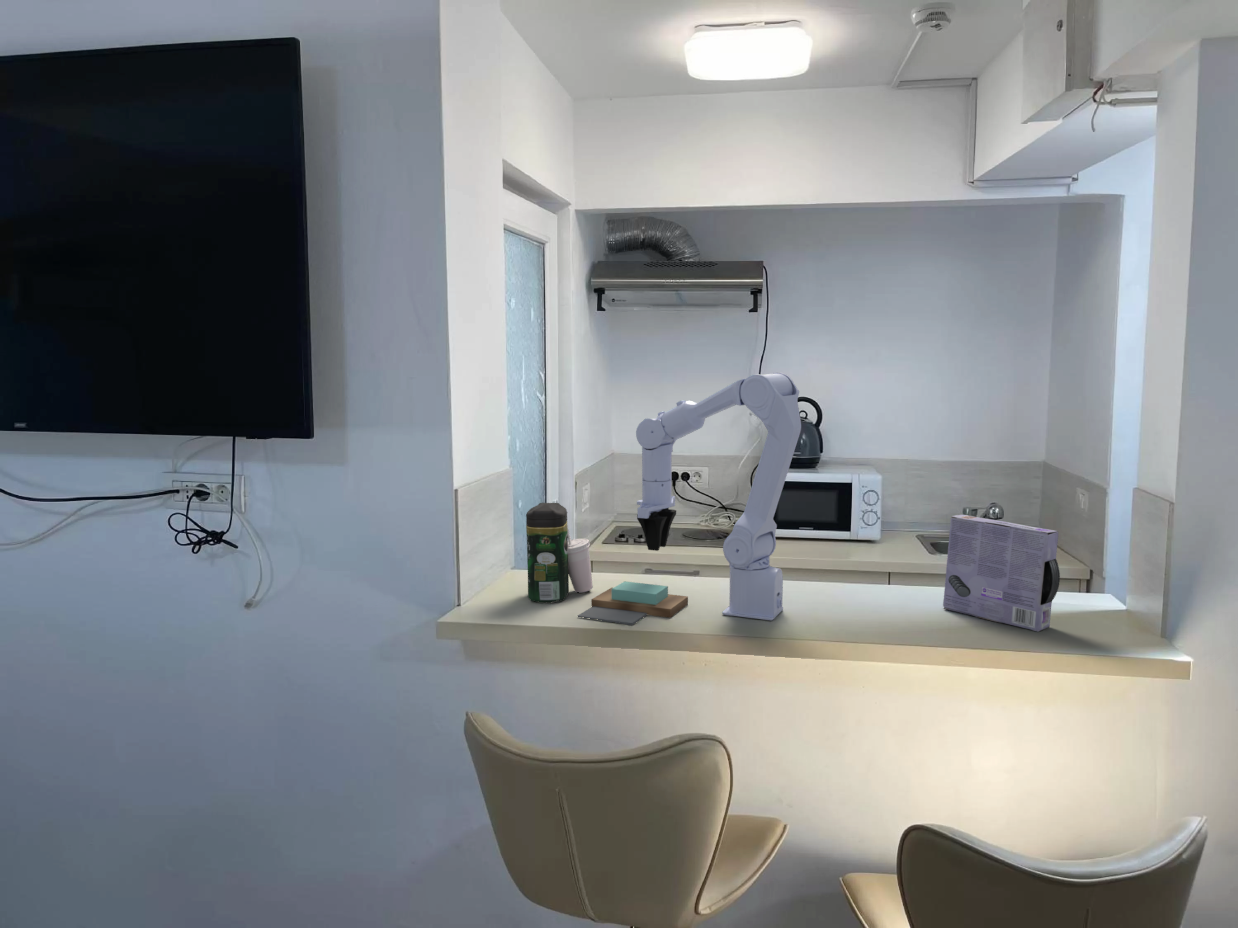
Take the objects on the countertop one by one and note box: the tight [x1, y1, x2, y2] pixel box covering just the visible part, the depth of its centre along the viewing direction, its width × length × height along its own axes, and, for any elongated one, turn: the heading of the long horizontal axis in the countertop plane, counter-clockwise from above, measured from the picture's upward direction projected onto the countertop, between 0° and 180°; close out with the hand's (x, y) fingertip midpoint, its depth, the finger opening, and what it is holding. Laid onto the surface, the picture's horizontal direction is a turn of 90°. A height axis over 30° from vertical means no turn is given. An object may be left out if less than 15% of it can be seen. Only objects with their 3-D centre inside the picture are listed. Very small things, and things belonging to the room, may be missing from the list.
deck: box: [590, 587, 689, 619], centre depth 175 cm, size 16×9×2 cm, turn 65°
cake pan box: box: [942, 514, 1061, 633], centre depth 165 cm, size 19×5×18 cm, turn 41°
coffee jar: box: [525, 502, 570, 604], centre depth 180 cm, size 10×8×19 cm
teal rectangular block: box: [611, 581, 669, 605], centre depth 175 cm, size 9×6×2 cm, turn 65°
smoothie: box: [567, 524, 594, 594], centre depth 184 cm, size 6×6×14 cm
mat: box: [577, 606, 648, 626], centre depth 168 cm, size 11×7×1 cm, turn 65°
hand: (656, 548), depth 181 cm, fingers open, 3 cm apart
